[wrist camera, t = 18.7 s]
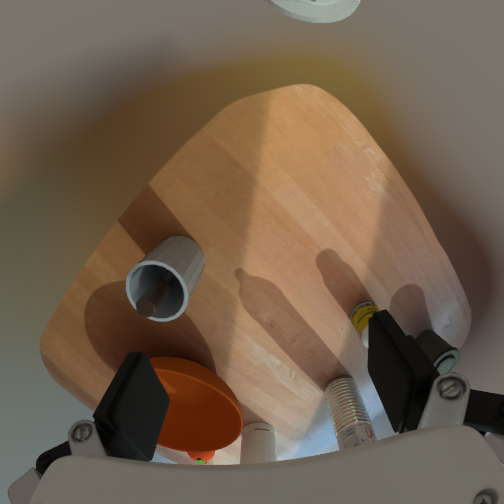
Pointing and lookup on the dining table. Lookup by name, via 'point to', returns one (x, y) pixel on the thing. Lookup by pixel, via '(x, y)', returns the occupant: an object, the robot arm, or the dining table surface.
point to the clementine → (201, 456)
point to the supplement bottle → (363, 319)
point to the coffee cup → (439, 351)
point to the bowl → (196, 407)
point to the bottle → (258, 444)
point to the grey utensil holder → (179, 263)
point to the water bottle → (348, 413)
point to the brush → (156, 292)
